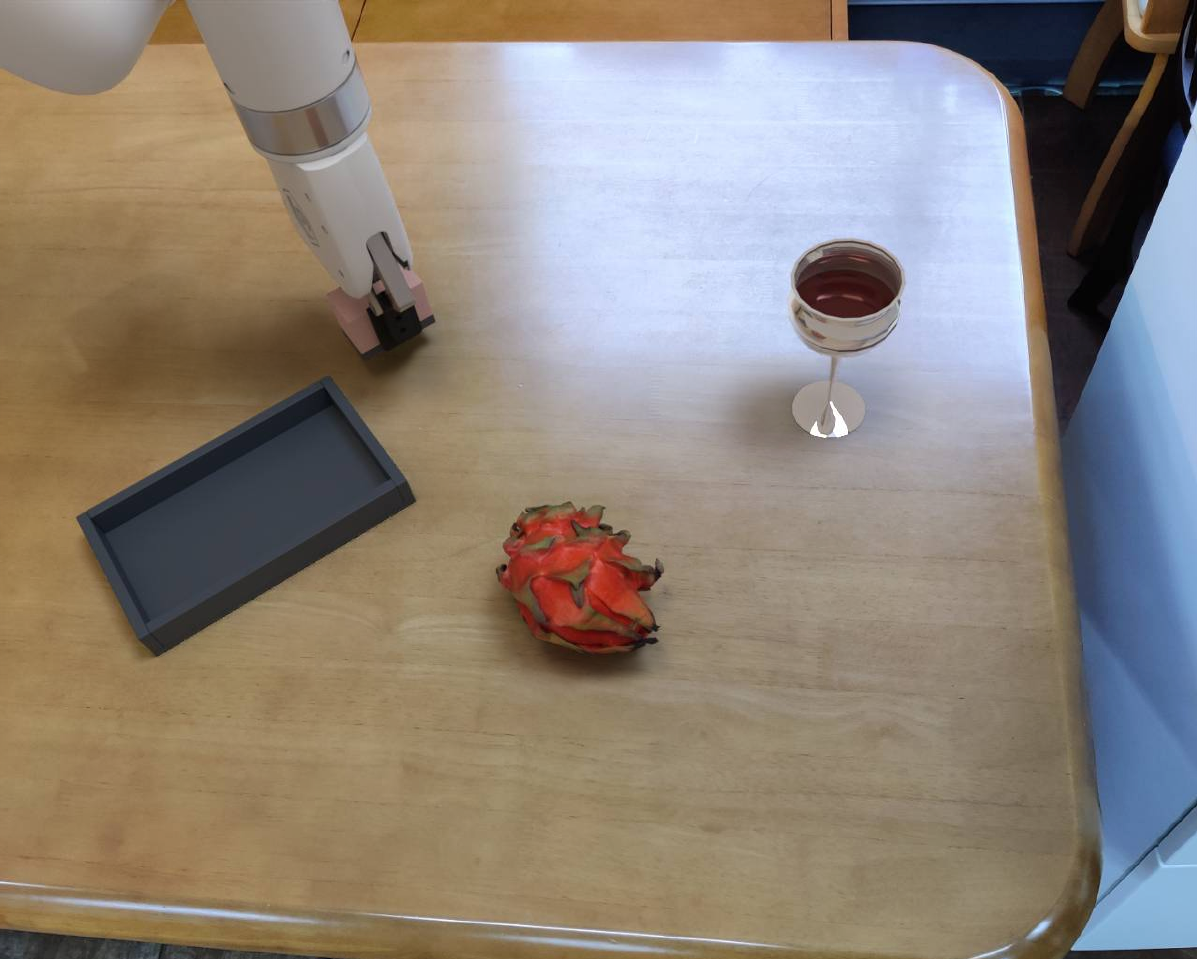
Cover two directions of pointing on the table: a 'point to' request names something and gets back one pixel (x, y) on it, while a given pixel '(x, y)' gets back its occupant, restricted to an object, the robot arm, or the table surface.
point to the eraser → (358, 321)
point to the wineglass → (841, 322)
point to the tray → (242, 514)
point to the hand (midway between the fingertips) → (388, 321)
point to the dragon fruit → (578, 580)
